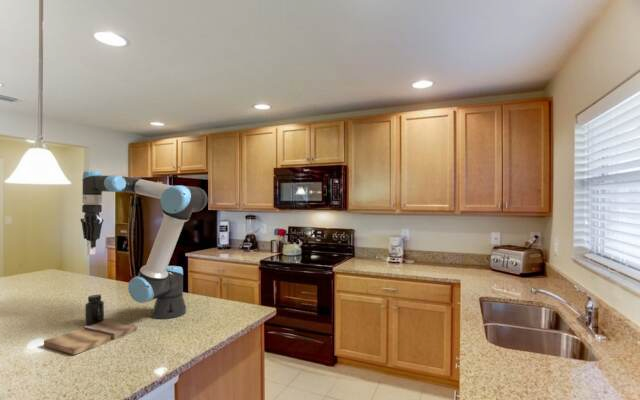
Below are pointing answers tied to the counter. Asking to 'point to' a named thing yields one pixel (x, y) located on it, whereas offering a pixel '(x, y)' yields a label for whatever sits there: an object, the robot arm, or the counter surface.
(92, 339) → the oak plank
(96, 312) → the supplement bottle
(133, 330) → the walnut board
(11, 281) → the counter surface
